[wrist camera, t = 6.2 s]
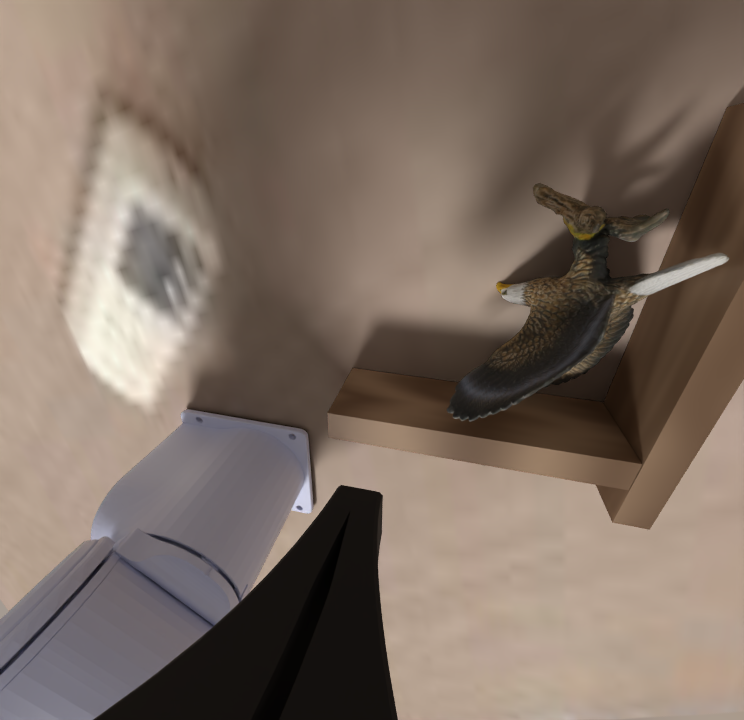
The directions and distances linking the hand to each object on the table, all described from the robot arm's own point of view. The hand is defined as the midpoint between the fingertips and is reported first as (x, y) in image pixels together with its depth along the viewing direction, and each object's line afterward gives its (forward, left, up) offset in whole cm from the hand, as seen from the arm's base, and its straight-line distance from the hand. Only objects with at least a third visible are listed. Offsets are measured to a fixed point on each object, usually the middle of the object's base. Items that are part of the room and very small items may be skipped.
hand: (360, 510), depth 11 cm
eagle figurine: (+6, +4, -10) cm, 13 cm away
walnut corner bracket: (+4, +3, -10) cm, 11 cm away
